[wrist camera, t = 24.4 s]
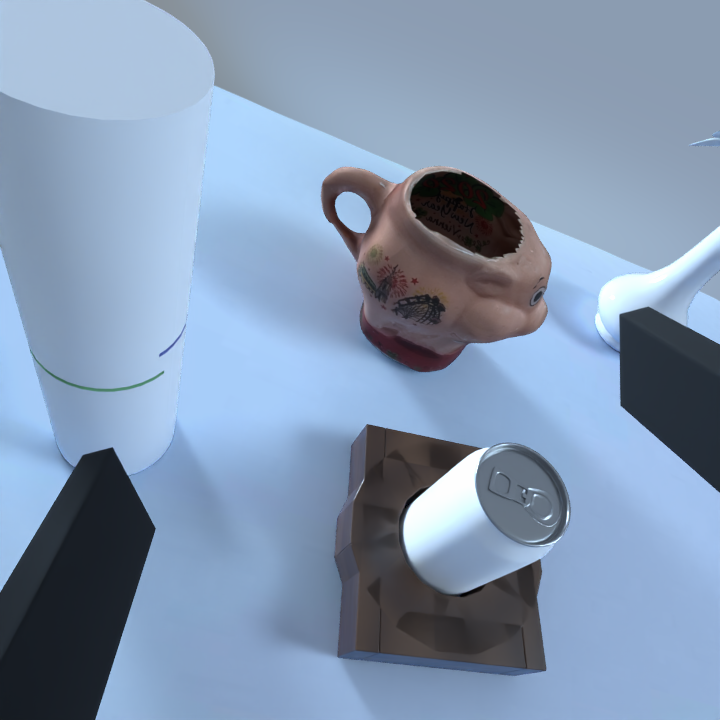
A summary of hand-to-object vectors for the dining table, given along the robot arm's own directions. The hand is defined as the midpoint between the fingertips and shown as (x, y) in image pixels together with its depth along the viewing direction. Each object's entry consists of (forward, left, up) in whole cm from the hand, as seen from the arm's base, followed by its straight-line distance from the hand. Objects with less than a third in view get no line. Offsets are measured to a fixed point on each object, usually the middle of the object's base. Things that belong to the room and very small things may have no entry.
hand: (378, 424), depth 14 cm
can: (+12, +4, -23) cm, 27 cm away
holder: (+12, +4, -23) cm, 26 cm away
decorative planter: (+9, +24, -23) cm, 35 cm away
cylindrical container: (-10, +9, -23) cm, 27 cm away
